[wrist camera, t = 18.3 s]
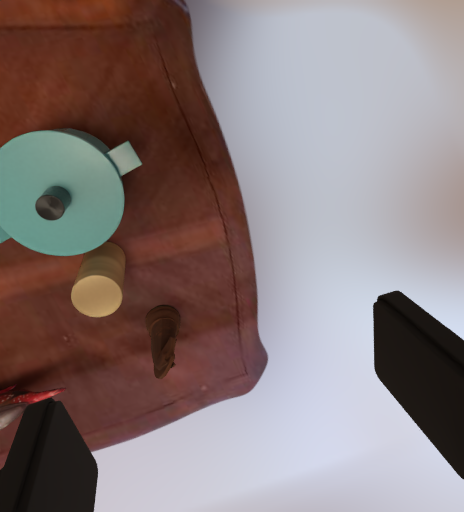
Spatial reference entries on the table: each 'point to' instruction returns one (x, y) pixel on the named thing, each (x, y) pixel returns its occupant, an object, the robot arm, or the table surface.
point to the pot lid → (58, 193)
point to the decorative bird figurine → (19, 402)
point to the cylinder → (100, 281)
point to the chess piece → (163, 337)
